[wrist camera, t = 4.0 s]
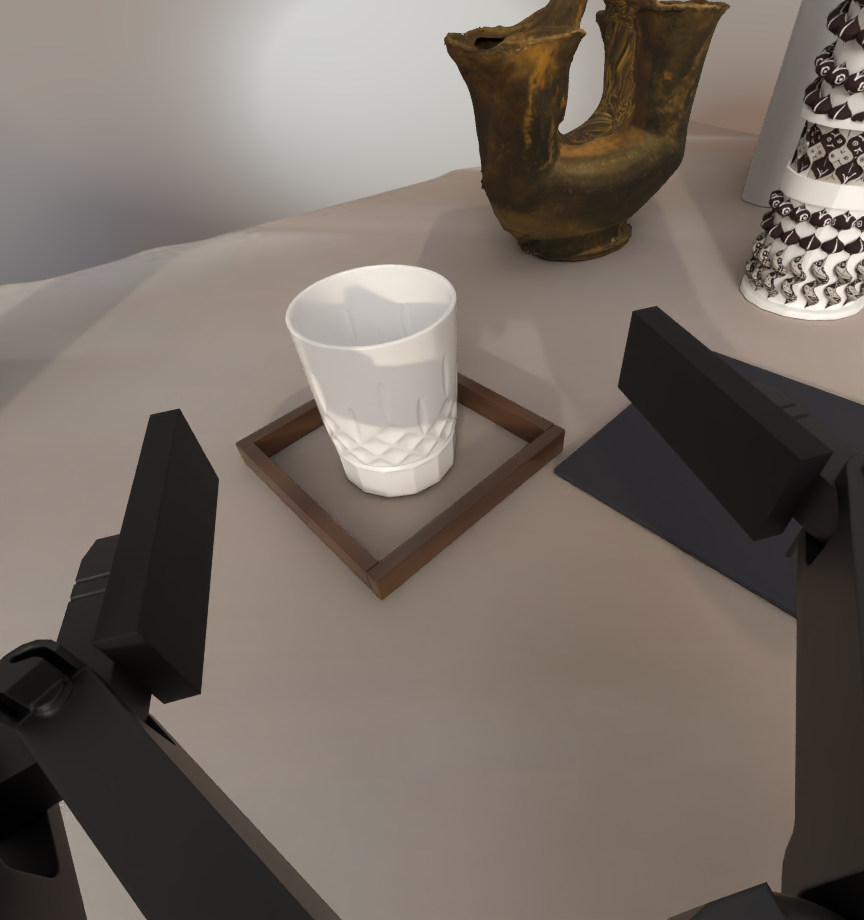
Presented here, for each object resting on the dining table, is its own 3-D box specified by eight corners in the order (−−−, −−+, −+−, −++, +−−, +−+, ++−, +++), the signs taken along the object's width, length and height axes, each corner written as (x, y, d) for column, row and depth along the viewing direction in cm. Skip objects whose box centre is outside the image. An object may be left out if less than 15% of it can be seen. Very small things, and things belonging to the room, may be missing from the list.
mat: (553, 472, 29) (554, 469, 28) (697, 349, 36) (699, 346, 35) (960, 716, 18) (965, 714, 18) (1050, 477, 25) (1054, 473, 25)
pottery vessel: (503, 303, 43) (506, -24, 29) (433, 262, 49) (409, -18, 36) (704, 221, 51) (782, -65, 37) (620, 195, 58) (660, -54, 44)
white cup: (486, 481, 28) (483, 319, 22) (349, 525, 27) (298, 367, 20) (439, 401, 34) (424, 251, 27) (322, 434, 33) (275, 285, 26)
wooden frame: (244, 461, 31) (234, 443, 30) (410, 364, 37) (407, 345, 36) (382, 601, 24) (376, 582, 23) (563, 450, 30) (566, 429, 29)
